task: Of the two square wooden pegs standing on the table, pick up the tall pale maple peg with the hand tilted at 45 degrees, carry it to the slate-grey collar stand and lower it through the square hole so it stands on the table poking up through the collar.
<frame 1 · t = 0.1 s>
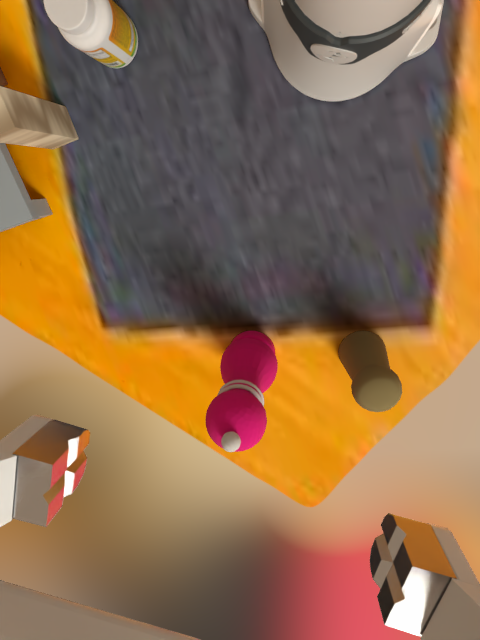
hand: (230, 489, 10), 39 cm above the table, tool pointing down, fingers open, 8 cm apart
supplement bottle: (116, 41, 41), on the table
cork: (361, 351, 50), on the table
pepper mill: (252, 350, 52), on the table
maple peg: (59, 128, 44), on the table
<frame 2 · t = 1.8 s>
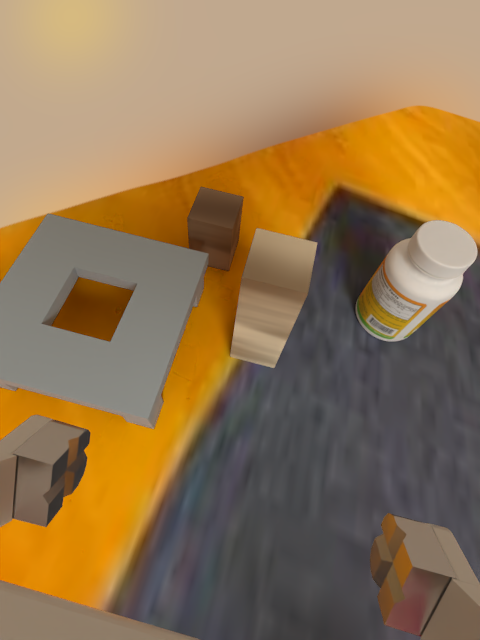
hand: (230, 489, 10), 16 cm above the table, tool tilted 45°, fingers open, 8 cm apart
supplement bottle: (383, 316, 33), on the table
walnut peg: (214, 251, 34), on the table
collar stand: (106, 331, 30), on the table
maple peg: (256, 342, 30), on the table
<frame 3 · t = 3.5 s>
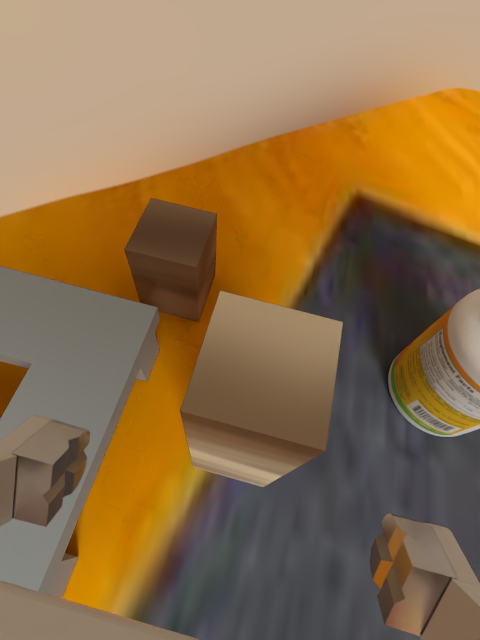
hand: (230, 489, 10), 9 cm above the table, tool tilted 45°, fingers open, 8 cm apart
supplement bottle: (429, 391, 22), on the table
walnut peg: (179, 290, 24), on the table
maple peg: (237, 441, 19), on the table
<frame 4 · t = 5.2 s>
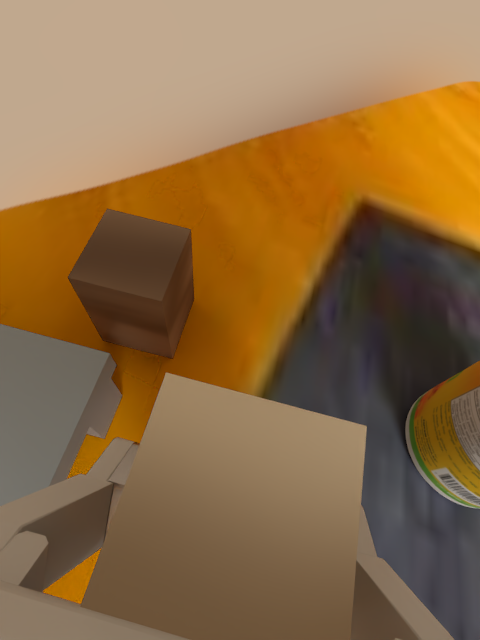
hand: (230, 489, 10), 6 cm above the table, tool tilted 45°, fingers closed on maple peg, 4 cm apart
supplement bottle: (455, 445, 18), on the table
walnut peg: (150, 319, 19), on the table
maple peg: (216, 518, 15), on the table, touching gripper
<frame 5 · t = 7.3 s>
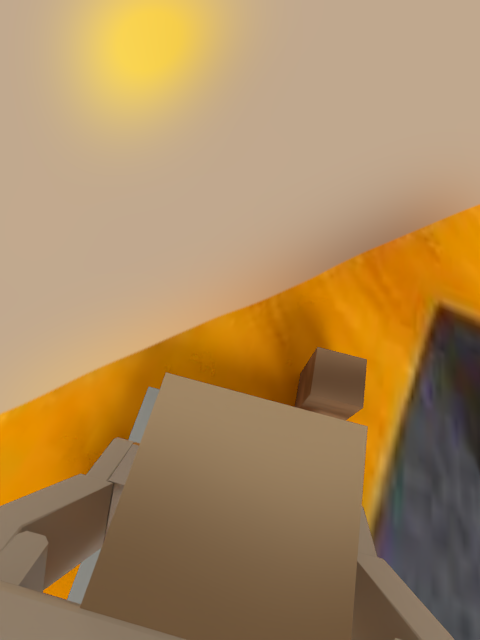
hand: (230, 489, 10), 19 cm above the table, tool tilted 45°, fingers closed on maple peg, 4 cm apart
walnut peg: (318, 399, 31), on the table
collar stand: (213, 517, 26), on the table
maple peg: (216, 518, 15), point 12 cm above the table, touching gripper
when the fingers open (9 cm above the table, at t = 9.8 s): maple peg drops 3 cm, on the table.
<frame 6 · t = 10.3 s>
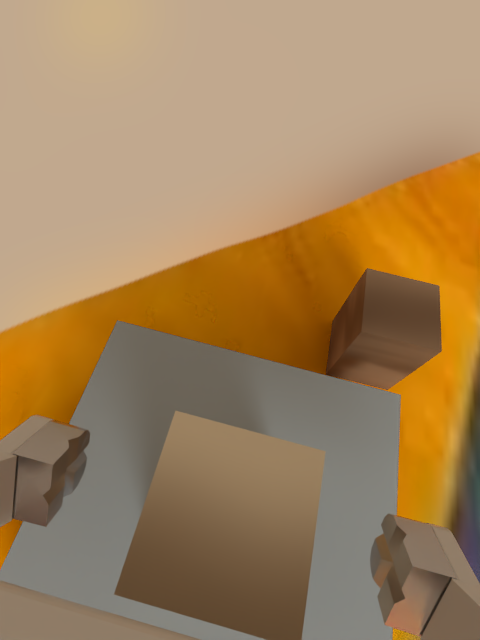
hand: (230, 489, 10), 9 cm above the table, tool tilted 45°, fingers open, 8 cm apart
walnut peg: (358, 354, 22), on the table
collar stand: (214, 518, 17), on the table
maple peg: (215, 518, 17), on the table
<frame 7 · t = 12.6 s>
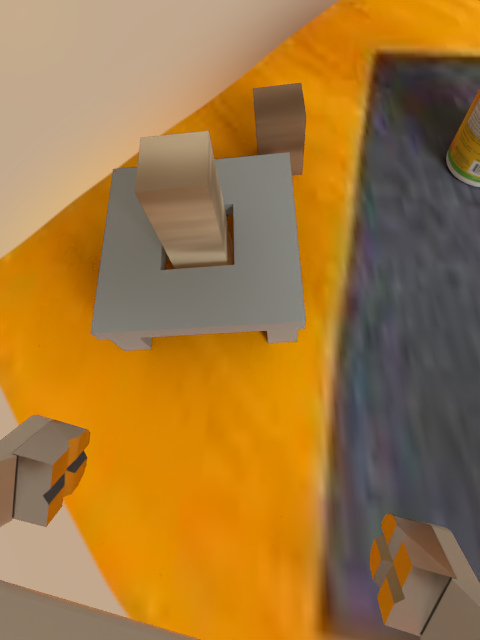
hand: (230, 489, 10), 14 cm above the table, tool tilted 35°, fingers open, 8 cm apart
supplement bottle: (478, 165, 30), on the table
walnut peg: (279, 160, 32), on the table
collar stand: (209, 269, 29), on the table
maple peg: (210, 269, 29), on the table
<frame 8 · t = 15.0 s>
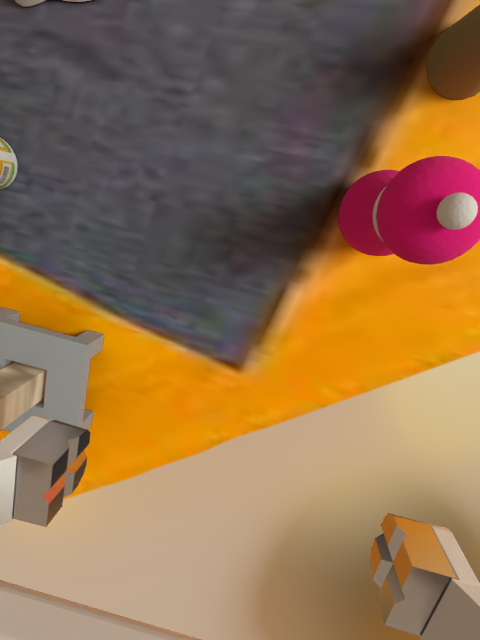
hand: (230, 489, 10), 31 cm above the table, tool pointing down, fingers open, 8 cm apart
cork: (461, 62, 33), on the table
pepper mill: (369, 214, 37), on the table
collar stand: (49, 368, 45), on the table
maple peg: (49, 367, 45), on the table
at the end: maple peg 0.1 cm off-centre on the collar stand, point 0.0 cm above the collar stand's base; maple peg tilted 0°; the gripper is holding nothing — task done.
